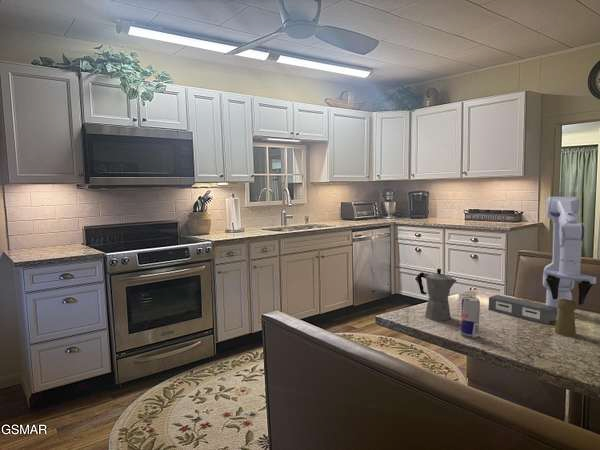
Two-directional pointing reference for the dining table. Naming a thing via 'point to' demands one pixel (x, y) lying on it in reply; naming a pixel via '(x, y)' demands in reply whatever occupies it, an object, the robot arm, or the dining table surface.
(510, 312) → the dark gray slotted box
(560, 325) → the cork
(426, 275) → the coffeepot
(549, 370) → the dining table surface
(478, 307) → the energy drink
